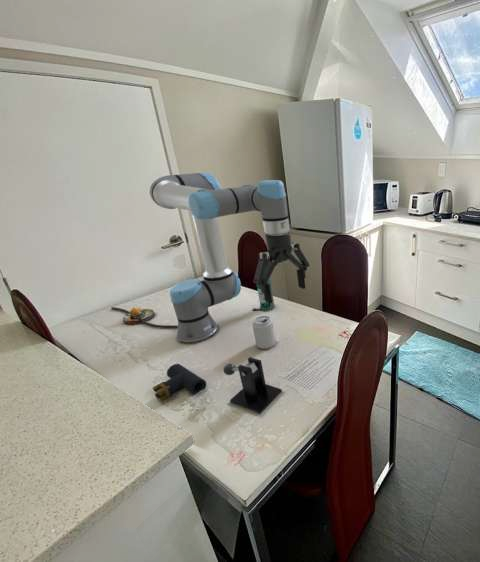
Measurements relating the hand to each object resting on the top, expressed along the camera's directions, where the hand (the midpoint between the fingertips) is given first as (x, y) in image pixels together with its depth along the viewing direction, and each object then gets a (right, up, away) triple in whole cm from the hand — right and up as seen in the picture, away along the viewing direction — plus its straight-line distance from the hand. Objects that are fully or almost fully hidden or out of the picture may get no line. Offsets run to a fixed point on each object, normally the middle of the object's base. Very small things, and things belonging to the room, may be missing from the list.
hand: (286, 294), depth 105 cm
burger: (-82, -13, +43) cm, 93 cm away
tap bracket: (-8, -33, -5) cm, 34 cm away
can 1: (-24, -9, +50) cm, 56 cm away
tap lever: (-12, -24, -7) cm, 28 cm away
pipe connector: (-35, -32, -2) cm, 48 cm away
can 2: (-14, -22, +21) cm, 34 cm away
